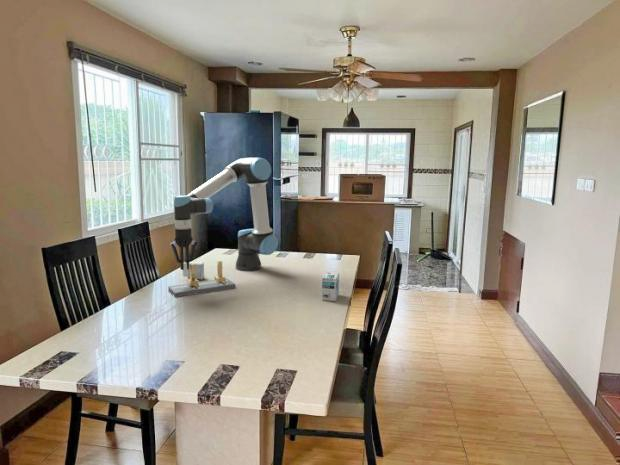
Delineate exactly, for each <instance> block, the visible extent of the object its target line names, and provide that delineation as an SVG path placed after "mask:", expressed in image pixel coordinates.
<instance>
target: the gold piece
mask: <svg viewBox="0 0 620 465" xmlns="http://www.w3.org/2000/svg"><path fill="white" fill-rule="evenodd" d="M199 282H200V281H199V280H197V279H196V278H195V264H194V263H192V264H190V279H188V278H187V284H188V285H190V286H195V287H196V288H198V286H197V285H199Z"/></svg>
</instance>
